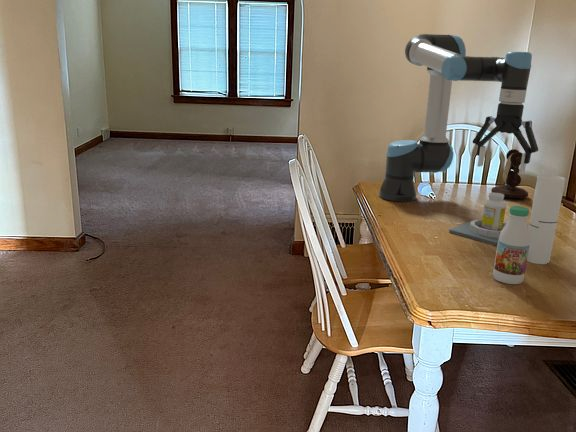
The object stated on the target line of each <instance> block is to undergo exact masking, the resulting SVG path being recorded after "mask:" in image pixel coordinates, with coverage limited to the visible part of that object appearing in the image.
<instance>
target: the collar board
mask: <svg viewBox="0 0 576 432" xmlns="http://www.w3.org/2000/svg"><path fill="white" fill-rule="evenodd" d="M482 219H483V218H475V219H474V220H471V221H468V222H465V223H463V224H460V225H457V226H455V227H452V228H449V229H448V233H451V234H454V235H458V236H460V237H465V238H468V239H471V240H475V241H478V242H482V243H486V244H489V245H492V246H495V247H497V245H498V240H499V236H500V233H501V231H494V230H487V229H484V228H481V227H482ZM506 224H507V222H505V221H504V222H503V228H504V226H505V225H506Z"/></svg>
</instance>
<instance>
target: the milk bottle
mask: <svg viewBox="0 0 576 432" xmlns="http://www.w3.org/2000/svg"><path fill="white" fill-rule="evenodd" d="M529 213H530V209H529V208H528V207H525V206H520V205H512V206H510V207H509V212H508V215H509V218H508V220H507V222H506V223H507V224H506V225H505V226H504V228H503V229H502V231H501V233H500V236H499V240H498V245H497V246H496V252H495V259H494V264H493V271H492V277H493V278H494V280H496V281H498V282H500V283H502V284H507V285H519V284H522V283H523V282H524V280H525V279H524V278H525V274H526V269H527V263H528V261H527V258H528V252H529V246H530V234H529V231H528V227H529V226H528V224H527V223H528V222H527V220H528V218H529V215H530V214H529Z"/></svg>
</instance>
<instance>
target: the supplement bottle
mask: <svg viewBox="0 0 576 432" xmlns="http://www.w3.org/2000/svg"><path fill="white" fill-rule="evenodd" d="M504 198H505V196H504V194H501V193H495V192H493V193H492V192H489V193H488V200H486V201H485V202H484V206H483V213H482V218H481V219H482V227H481V228H484V229H487V230H494V231H502V229H503V222H505V215H506V207H507V205H506V203H505V202H504Z"/></svg>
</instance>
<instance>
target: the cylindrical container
mask: <svg viewBox="0 0 576 432" xmlns="http://www.w3.org/2000/svg"><path fill="white" fill-rule="evenodd" d="M565 183H566V178H565V177H562V176H559V175H555V174H554V175H553V174H538V175H537V177H536V182H535V188H534V195H533V200H532V205H531V210H530V211H531V212H530V217H529V223H528V226H527V227H528V231H529V234H530V246H529V252H528V258H527V263H530V264H535V265H548V264H549V263H550V262H551V261H550V260H551V255H552V250H553V246H554V242H555V241H554V239H555V235H556V230H557V226H558V225H557V224H558V221H559V216H560V209H561V204H562V199H563V193H564V188H565V185H566V184H565ZM547 263H548V264H547Z"/></svg>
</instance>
